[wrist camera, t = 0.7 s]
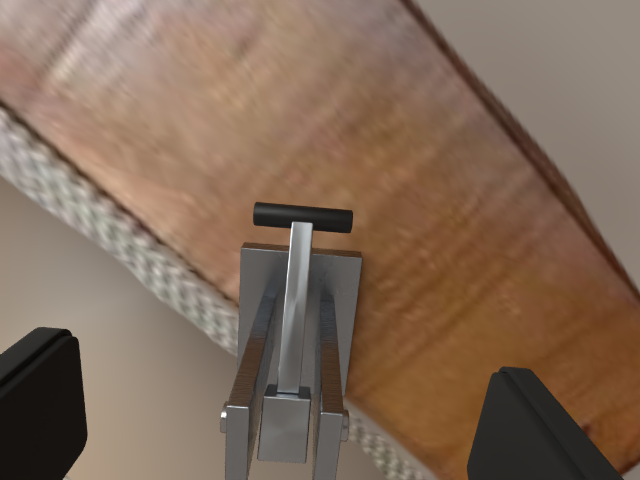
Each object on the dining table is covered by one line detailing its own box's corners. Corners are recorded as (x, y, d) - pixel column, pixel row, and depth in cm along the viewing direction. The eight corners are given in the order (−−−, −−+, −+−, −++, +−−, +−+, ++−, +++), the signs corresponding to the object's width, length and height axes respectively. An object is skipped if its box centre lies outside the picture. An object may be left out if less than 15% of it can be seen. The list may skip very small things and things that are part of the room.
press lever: (258, 207, 21) (252, 196, 19) (349, 214, 22) (355, 205, 19) (235, 438, 20) (225, 458, 17) (333, 445, 20) (336, 466, 18)
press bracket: (244, 242, 27) (189, 334, 15) (360, 251, 27) (390, 350, 16) (239, 378, 30) (191, 535, 19) (343, 385, 30) (357, 546, 19)
